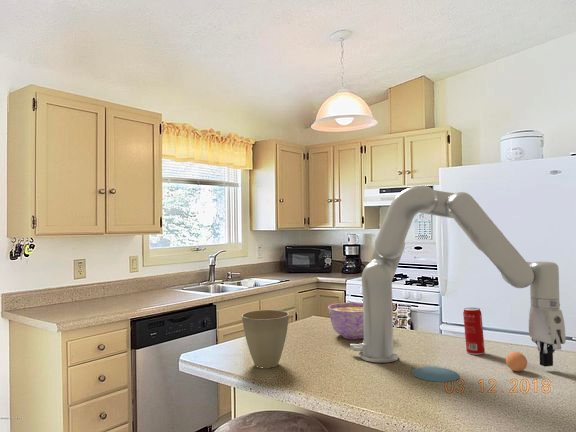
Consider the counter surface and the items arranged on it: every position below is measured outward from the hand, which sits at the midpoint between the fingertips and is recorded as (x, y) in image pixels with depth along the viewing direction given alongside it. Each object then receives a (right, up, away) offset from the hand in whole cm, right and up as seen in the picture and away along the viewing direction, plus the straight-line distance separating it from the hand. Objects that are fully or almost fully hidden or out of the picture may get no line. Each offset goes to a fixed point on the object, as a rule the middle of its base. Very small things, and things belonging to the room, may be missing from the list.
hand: (546, 365), depth 134 cm
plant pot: (-84, -3, +8) cm, 84 cm away
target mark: (-34, -2, -2) cm, 34 cm away
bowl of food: (-51, -3, +43) cm, 67 cm away
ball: (-9, +1, 0) cm, 9 cm away
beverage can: (-14, -2, +19) cm, 23 cm away
